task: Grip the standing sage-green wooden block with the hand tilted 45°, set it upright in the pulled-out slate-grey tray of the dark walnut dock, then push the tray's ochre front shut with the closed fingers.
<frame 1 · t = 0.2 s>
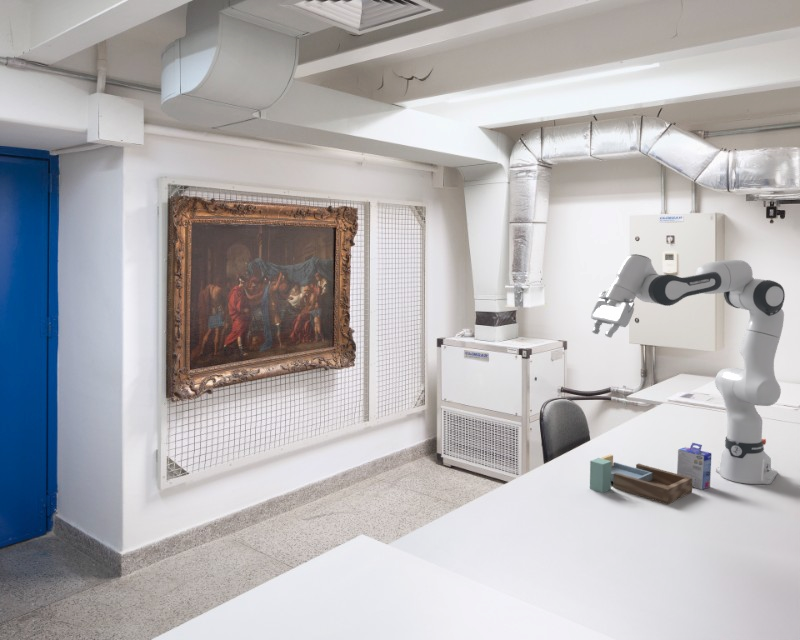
hand: (601, 334, 218), 54 cm above the table, tool tilted 30°, fingers open, 8 cm apart
ink cartridge box: (693, 485, 228), on the table
dock: (651, 489, 224), on the table
tray: (621, 470, 232), point 4 cm above the table, slide at 11.0 cm
block: (600, 488, 225), on the table
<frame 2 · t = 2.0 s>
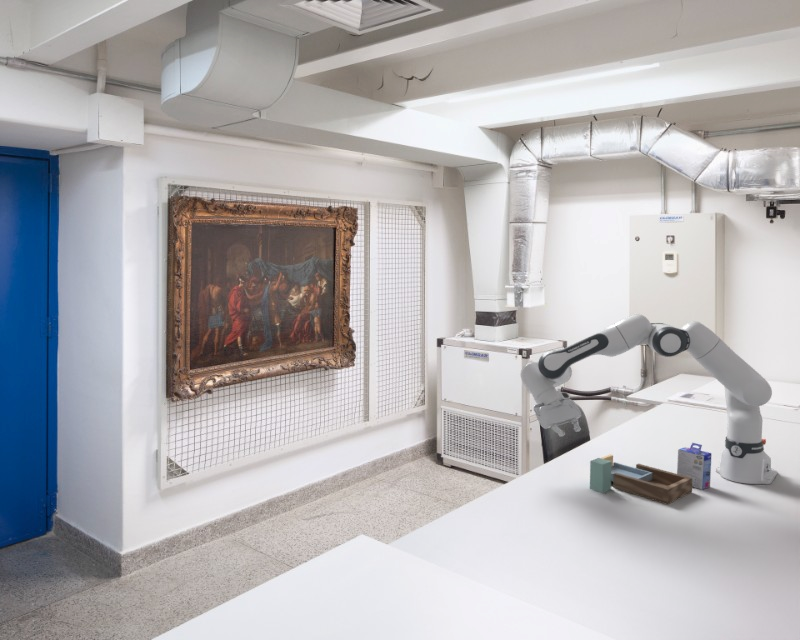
hand: (570, 433, 233), 17 cm above the table, tool tilted 45°, fingers open, 8 cm apart
nothing on the table moved.
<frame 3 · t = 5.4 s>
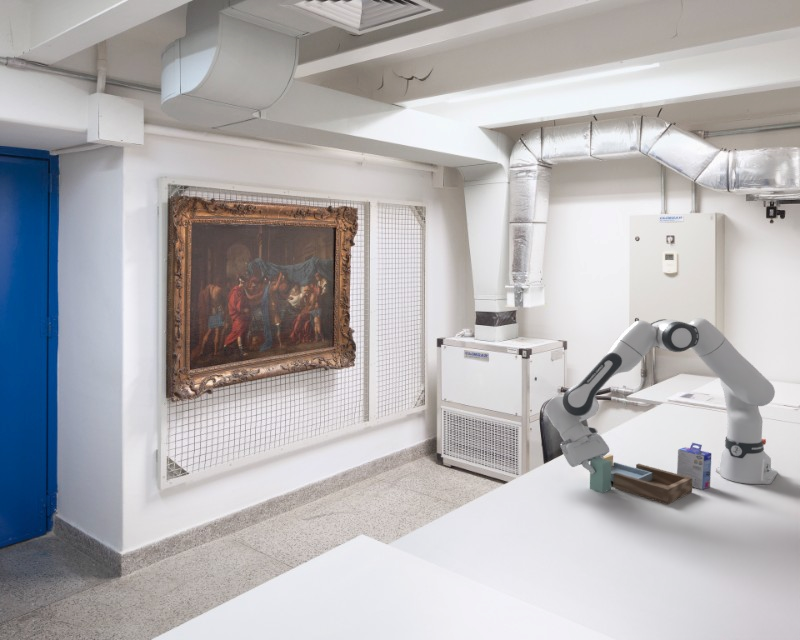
hand: (599, 470, 225), 6 cm above the table, tool tilted 45°, fingers closed on block, 5 cm apart
block: (600, 488, 225), on the table, touching gripper
everything else where it was.
when the fingers open (10 cm above the table, at t = 13.0 s): block drops 1 cm, resting on tray.
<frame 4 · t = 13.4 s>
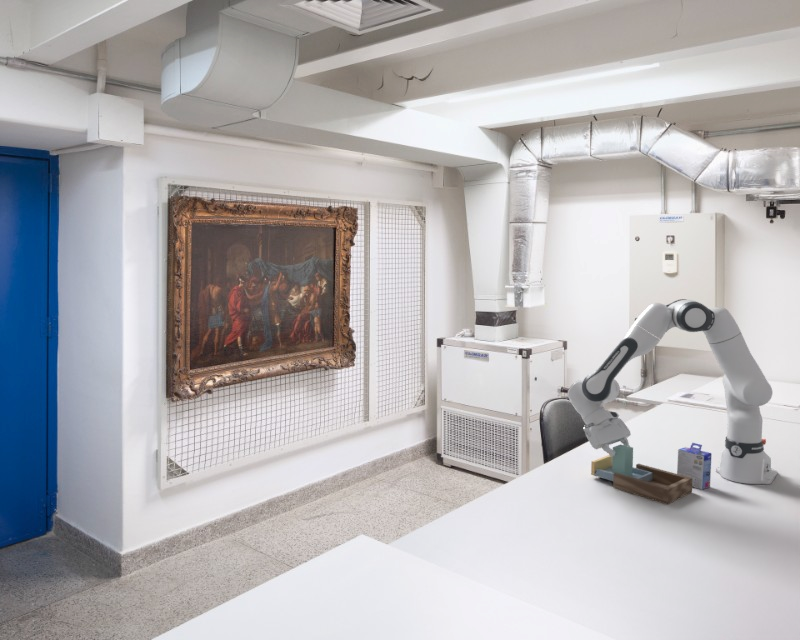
hand: (621, 453, 232), 10 cm above the table, tool tilted 45°, fingers open, 8 cm apart
tray: (621, 470, 232), point 4 cm above the table, slide at 11.0 cm, touching block
block: (622, 474, 232), point 2 cm above the table, touching tray
everything else where it was.
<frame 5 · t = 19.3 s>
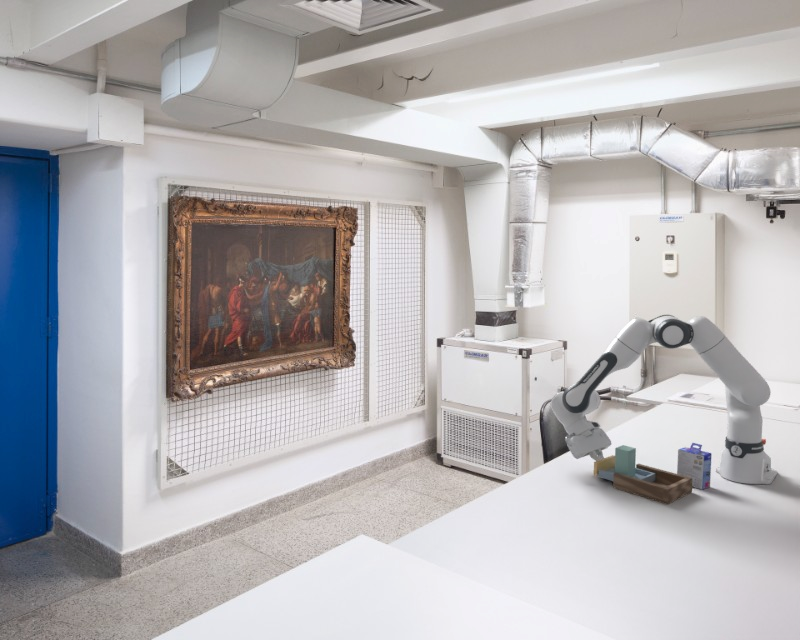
hand: (602, 462, 238), 5 cm above the table, tool tilted 45°, fingers closed, pressing on tray
tray: (624, 471, 231), point 4 cm above the table, slide at 9.9 cm, touching block, gripper
block: (624, 475, 231), point 2 cm above the table, touching tray
everything else where it was.
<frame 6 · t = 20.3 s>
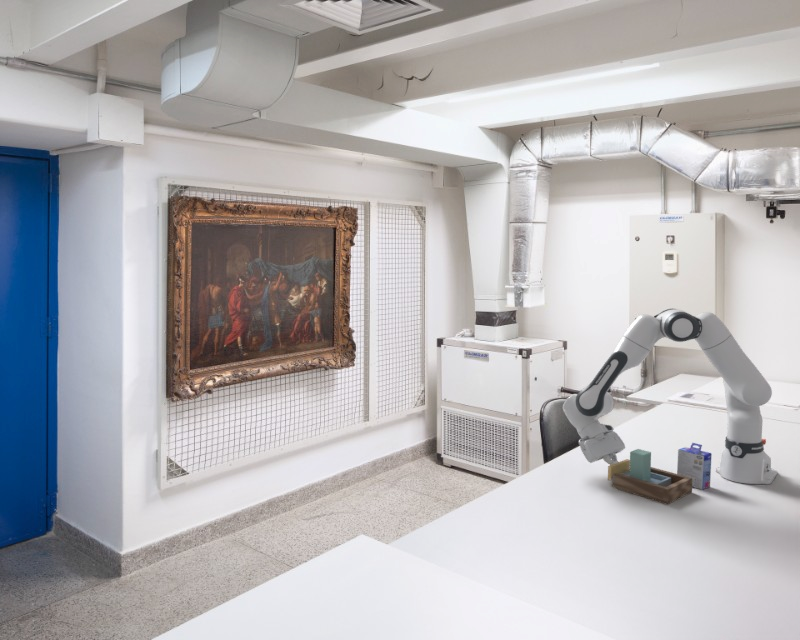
hand: (616, 466, 234), 5 cm above the table, tool tilted 45°, fingers closed, pressing on tray
tray: (639, 475, 227), point 4 cm above the table, slide at 4.1 cm, touching block, gripper
block: (639, 479, 227), point 2 cm above the table, touching tray
everything else where it was.
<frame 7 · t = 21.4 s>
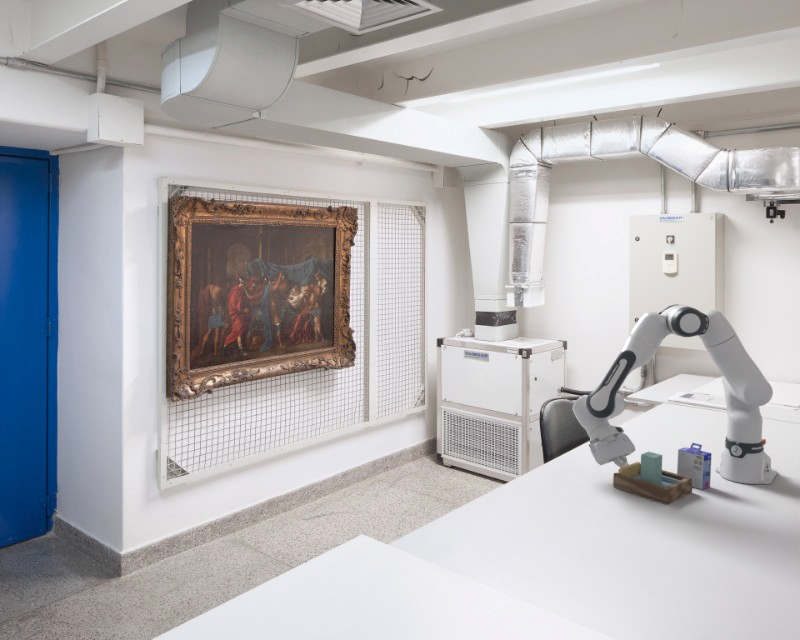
hand: (626, 469, 231), 5 cm above the table, tool tilted 45°, fingers closed, pressing on tray
tray: (650, 478, 224), point 4 cm above the table, slide at -0.1 cm, touching block, gripper
block: (650, 482, 224), point 2 cm above the table, touching tray
everything else where it was.
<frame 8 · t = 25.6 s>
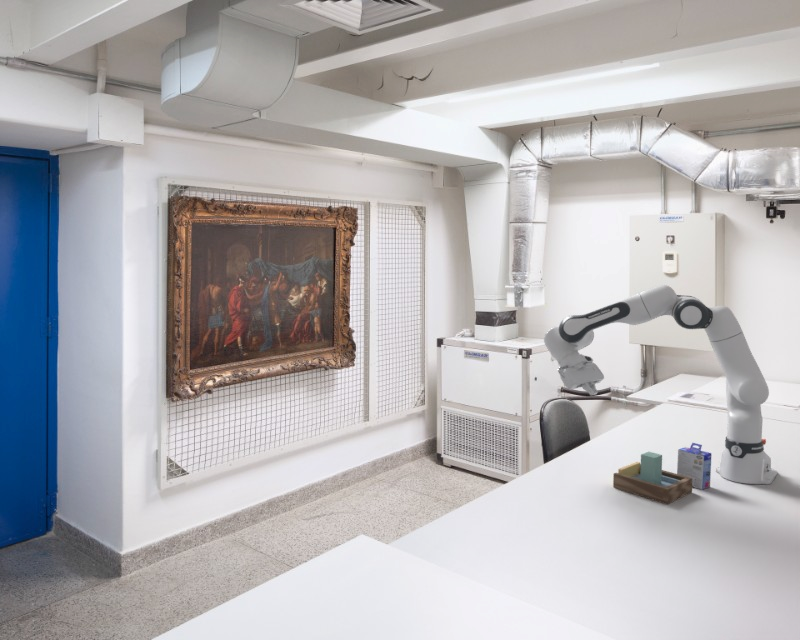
hand: (594, 394, 240), 29 cm above the table, tool tilted 45°, fingers closed
tray: (650, 478, 224), point 4 cm above the table, slide at 0.0 cm, touching block
everything else where it was.
at the end: tray slide at 0.0 cm; block inside the target area on the dock (0.4 cm from its centre), point 2.3 cm above the dock's base; block tilted 0° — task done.
